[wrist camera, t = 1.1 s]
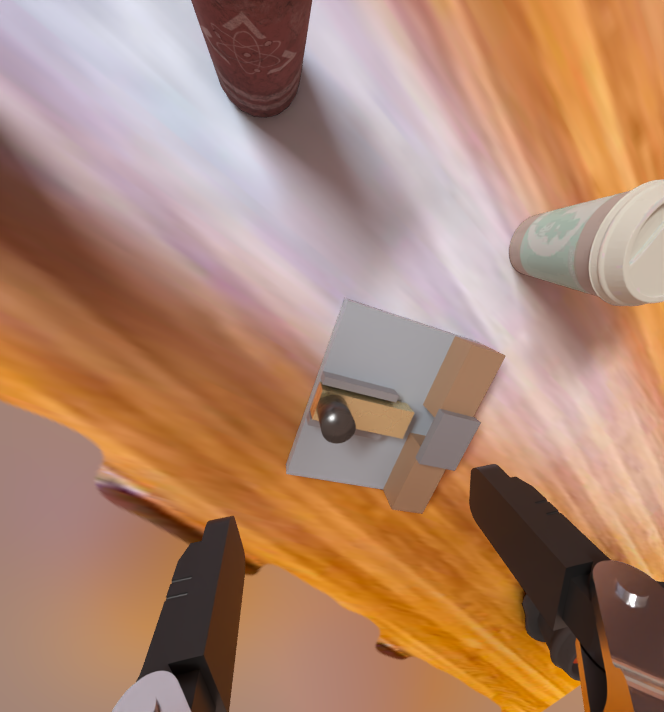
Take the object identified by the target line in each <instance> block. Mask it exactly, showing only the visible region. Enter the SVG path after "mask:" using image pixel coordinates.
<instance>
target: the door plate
mask: <svg viewBox="0 0 664 712" xmlns="http://www.w3.org/2000/svg"><path fill="white" fill-rule="evenodd" d="M504 358H505V355H503V354H501V353H499V352H497V351H495V350H493V349H491V348H489V347H487V346H485V345H483V344H481V343H479V342H476V341H473V340H470V339H467V338H464V337H461V336H458V335H455V334H452V333H449V332H446V331H443V330H440V329H437V328H434V327H431V326H428V325H425V324H422V323H419V322H416V321H413V320H410V319H407V318H404V317H401V316H398V315H395V314H392V313H389V312H386V311H383V310H380V309H377V308H374V307H371V306H368V305H365V304H362V303H359V302H356V301H353V300H350V299H347V298H345V299H344V301H343V304H342V307H341V310H340V313H339V316H338V318H337V321H336V324H335V327H334V330H333V333H332V335H331V338H330V341H329V344H328V347H327V350H326V352H325V355H324V358H323V361H322V364H321V367H320V369H319V372H318V375H317V378H316V381H315V384H314V387H313V389H312V392H311V395H310V398H309V401H308V404H307V406H306V409H305V412H304V415H303V418H302V421H301V423H300V426H299V429H298V432H297V435H296V438H295V440H294V443H293V446H292V449H291V452H290V455H289V457H288V460H287V463H286V474H290V475H296V476H303V477H309V478H315V479H321V480H327V481H334V482H340V483H346V484H352V485H358V486H364V487H371V488H377V489H383V491H384V493H385V495H386V497H387V500H388V502H389V504H390V507H391V509H393V510H400V511H407V512H414V513H421V514H422V513H423V512H424V510H425V508H426V506H427V504H428V502H429V500H430V498H431V496H432V495H433V493H434V491H435V489H436V487H437V485H438V483H439V481H440V479H441V477H442V476H443V474H444V472H445V470H446V469H448V470H453V471H455V470H456V468H457V466H458V464H459V462H460V460H461V459H462V457H463V455H464V453H465V451H466V449H467V447H468V445H469V444H470V442H471V440H472V438H473V436H474V434H475V432H476V431H477V429H478V427H479V425H480V423H481V422H479V421H478V420H477V419H476V418H475V417H474V415H475V413H476V411H477V409H478V407H479V405H480V403H481V402H482V400H483V398H484V396H485V394H486V392H487V390H488V388H489V386H490V384H491V383H492V381H493V379H494V377H495V375H496V373H497V371H498V369H499V367H500V366H501V364H502V362H503V360H504ZM319 382H322V384H323V385H327V386H331V387H335V388H339V389H343V390H347V391H351V392H355V393H359V394H363V395H367V396H371V397H376V398H380V399H384V400H388V401H392V402H397V401H400V402H404V403H407V404H408V405H409V406H410V408H411V409H412V410H413V411H414V412H415V413H414V415H413V417H412V420H411V422H410V424H409V426H408V428H407V430H406V433H405V435H404V437H403V439H401V438H396V437H391V436H387V435H382V434H377V433H373V432H368V431H363V430H359V429H356V430H355V433H354V435H353V436H352V437H351V438H350V439H349V440H347V441H346V442H343V443H338V444H335V443H331V442H328V441H327V440H326V439H325V438H324V437H323V435H322V432H321V428H320V424H319V421H317V420H312V417H311V412H310V408H311V405H312V402H313V399H314V396H315V394H316V391H317V388H318V385H319Z"/></svg>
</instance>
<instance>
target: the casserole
mask: <svg viewBox="0 0 664 712" xmlns="http://www.w3.org/2000/svg"><path fill="white" fill-rule="evenodd" d="M522 605H523V608H524V611H525V615H526V618H525V628H526V630H527V633H528V634H529V635H530V636H531V637H532V638H534V639H536V640H538V641H541V642H546V644H547V646H548V648H549V650H550V657H551V660H552V662H553V663H554V664H555V666H557V667H559V668H561V669H563V670H564V671H565V672H566V673H567V674H568V675H569V676H570V677H571V678H573V679H575V680H578V681H580V675H579V668H578V661H577V654H576V646H575V641H576V636H575V635H574V634H573V633H572V631H571V630H570V629H569V627H566V628H562V629H558V630H555V631H553V630H552V629H551V627H550V626H549V625H548V623H547V622H546V620H545V619H544V617H543V616H542V615H541V613H540V612H539V610H538V609H537V608H536V606H535V605H534V603H533V602H532V601H531V599H530V598H529V596H528V595H527V594H526V595H525V597H524V599H523V602H522Z"/></svg>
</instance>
